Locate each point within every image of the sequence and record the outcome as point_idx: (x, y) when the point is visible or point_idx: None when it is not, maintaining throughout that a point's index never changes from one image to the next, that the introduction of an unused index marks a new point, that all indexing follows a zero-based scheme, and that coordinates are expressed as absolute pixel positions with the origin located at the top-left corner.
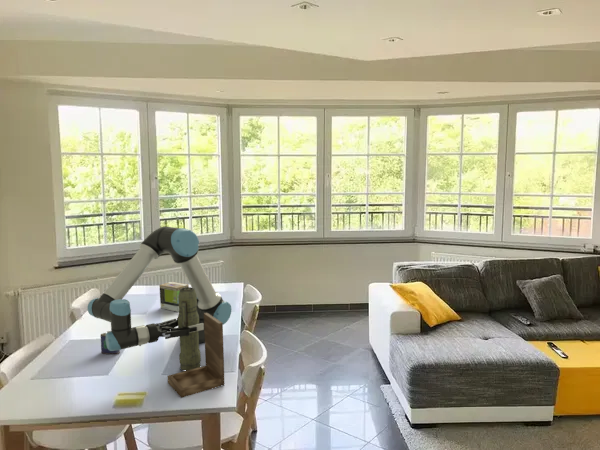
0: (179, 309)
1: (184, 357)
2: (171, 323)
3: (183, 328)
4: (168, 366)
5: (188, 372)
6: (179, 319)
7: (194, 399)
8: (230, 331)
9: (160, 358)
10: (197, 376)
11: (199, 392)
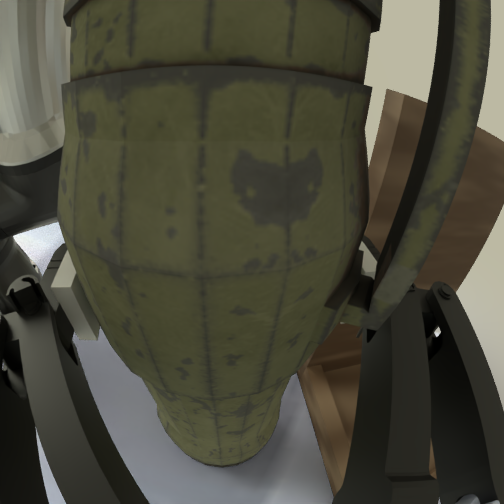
0: (185, 23)
1: (265, 440)
2: (91, 446)
3: (423, 327)
4: (157, 501)
5: (346, 442)
6: (290, 276)
7: None
8: (50, 230)
9: (54, 485)
10: (349, 413)
11: None
